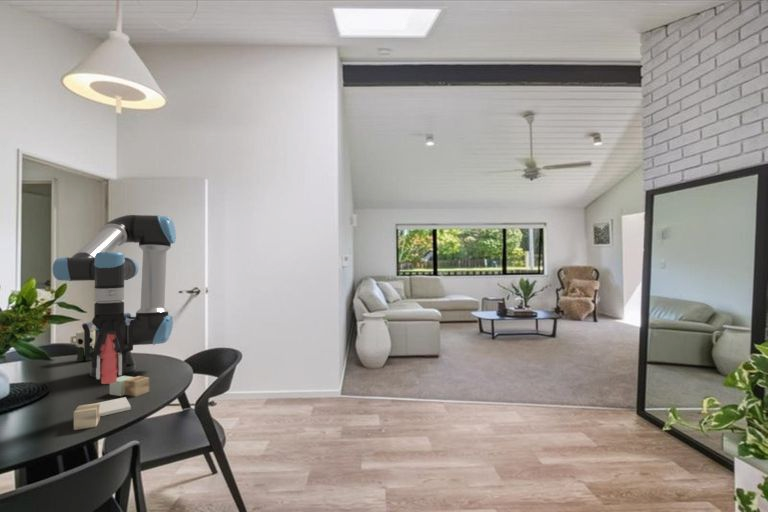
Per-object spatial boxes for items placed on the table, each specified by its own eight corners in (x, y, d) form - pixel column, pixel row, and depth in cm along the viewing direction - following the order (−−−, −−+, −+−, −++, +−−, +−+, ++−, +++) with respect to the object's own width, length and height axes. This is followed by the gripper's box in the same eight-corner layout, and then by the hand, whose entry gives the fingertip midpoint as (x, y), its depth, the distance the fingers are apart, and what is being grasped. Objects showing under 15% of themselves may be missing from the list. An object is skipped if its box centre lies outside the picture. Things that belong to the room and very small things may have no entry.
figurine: (113, 377, 122) (114, 331, 122) (122, 380, 119) (123, 332, 119) (95, 382, 117) (95, 334, 117) (104, 385, 115) (104, 335, 115)
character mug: (68, 364, 164) (68, 334, 164) (72, 359, 170) (72, 331, 170) (99, 360, 169) (99, 331, 169) (102, 357, 176) (102, 329, 176)
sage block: (109, 394, 130) (109, 380, 130) (123, 389, 135) (123, 375, 135) (120, 396, 129) (120, 381, 129) (134, 391, 134) (134, 377, 134)
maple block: (78, 423, 109) (78, 405, 109) (99, 419, 111) (100, 402, 111) (73, 430, 104) (73, 412, 104) (96, 426, 107) (96, 409, 106)
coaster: (87, 408, 119) (87, 404, 119) (125, 400, 125) (125, 397, 125) (90, 418, 111) (90, 415, 111) (130, 409, 118) (130, 406, 118)
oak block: (125, 394, 130) (125, 380, 130) (138, 389, 135) (138, 375, 135) (135, 396, 129) (135, 382, 129) (149, 391, 133) (149, 377, 133)
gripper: (73, 305, 109) (72, 385, 109) (145, 300, 121) (144, 373, 121) (71, 302, 115) (71, 379, 115) (140, 298, 127) (140, 367, 127)
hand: (109, 375), depth 118 cm, fingers closed on figurine, 5 cm apart
